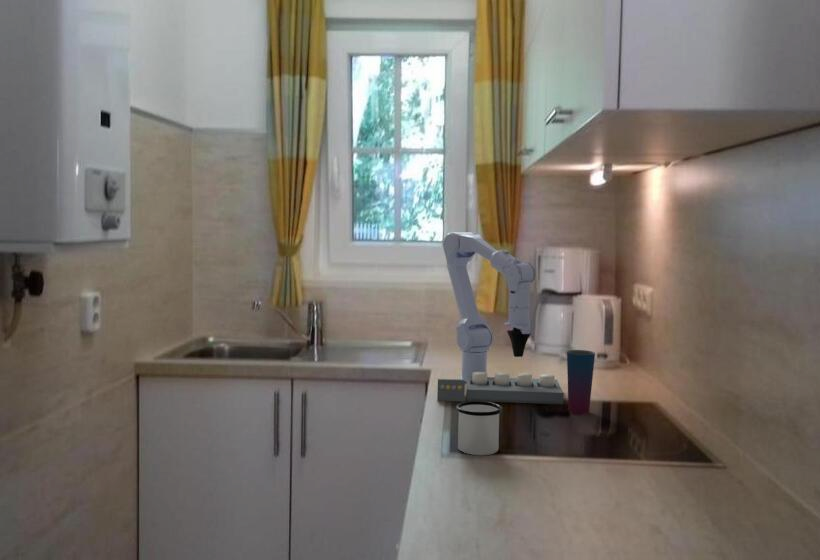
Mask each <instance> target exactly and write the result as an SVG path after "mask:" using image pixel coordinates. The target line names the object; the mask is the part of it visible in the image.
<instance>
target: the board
mask: <svg viewBox="0 0 820 560" xmlns="http://www.w3.org/2000/svg"><path fill="white" fill-rule="evenodd" d="M494 384H495V376H493V377H491V376H487V385H472V377H468V376H467V382H466V390H465V393H466V394H465V395H466V397H465V398H466V400H465V402H469V401H483V402H490V403H517V404H545V405H564V391H563V389H562V387H561V385H560V383H559V382H558V379H554V387H539V378H532V387H528V386H517V377H510V379H509V386H500V385H494Z"/></svg>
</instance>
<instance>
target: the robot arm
mask: <svg viewBox="0 0 820 560" xmlns="http://www.w3.org/2000/svg"><path fill="white" fill-rule="evenodd" d="M442 248H443V251H444V255H445V256H444V257H445V259H446V267H447V270H448V274H449V279H450V282H451V285H452V289H453V290H452V291H453V295H454V297H455V301H456V304H457V309H458V312H459V316H460V321H459V323H458V324H457V325H456V326H455V330H456V342H457V343H456V344H457V345H458V347H459V348H460V350H459V351H462V353H461V354H462V355H461V356H462V357H461V374H460V375H459V377H460V379H465V383H467V376H468V377H472V376H473V372H485V373H487V368H488V367H487V365H488V364H487V362H488V351H489V350H490V348H491V346H492V345H493V343H494V342H493V341H494V335H493V332H492V330H491V328H490V327H489V325H488V321H487V320H486V319H485V318H483V317H482V316H480V314H479V309H478V306H477V301H476V298H475V295H474V291H473V287H472V283H471V280H470V277H469V273H468V269H467V265H468V263H469V262H470V261H472V259H473V258H474V256H475V255H476V254H478V255H480V256H481V257H483V258H484V259H486V260H488V261H490V262H489V263H490V266H491V268H493V269H494V270H496V271H497V272H499V273H500V274H501V275H503V276H504V278H505V281H506V282H507V289H508V322H504V324H503V325H504V326H505V327H509V328H512V330H511V329H508V330H507V331H506V332H507V334H508V337H509V340H510V342H511V347H512V354H513V357H515V358H517V357H518V358H520V357H521V358H523V356H524V352H525V349H526V344H527V342H528V339H529V338H530V336H531V322H530V321H531V318H530V317H531V285H532V283H533V281H534V280H535V278H536V270H535V268H534V265H533V264H531V263H530V262H528V261H527V262H522V261H521V259H520V258H519V257H518V258H517V257H514V256H513V255H511V254H510V251H509V250H507V249H499V250H497V249H496V248H494V247H493V246H492V245H491V244H490V243H488V242H487V241H485V240H484V239H483V238H482V236H481V234H478V232H475V231H471V232H470V231H469V232H462V231H461V232H459V231H458V232H457V231H456V232H454V231H450V232H447V234H445V237H444V240H443V242H442Z"/></svg>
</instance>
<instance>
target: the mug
mask: <svg viewBox="0 0 820 560" xmlns="http://www.w3.org/2000/svg"><path fill="white" fill-rule="evenodd" d="M455 409H456V411H457V412H458V427H457V428H458V430H457V449H458V450H459V452H461V451H462V453H463V452H464V454H466V453H467V454H466V455H470V454H471V456H479V457H480V456H482V457H483V456H490V455H493V454H495V453H497V452H498V451H499V443H500V441H499V436H500V433H499V432H500V414H501V413H502V412H503V407H502V406H501V405H499V404H497V403H496V402H488V401H461V402H459V403H458V404H456V405H455Z"/></svg>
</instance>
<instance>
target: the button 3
mask: <svg viewBox="0 0 820 560" xmlns="http://www.w3.org/2000/svg"><path fill="white" fill-rule="evenodd" d="M516 374H517V375H516V378H517V386H528V387H532V379H533V374H530V373H527V372H526V373H524V372H523V373H522V372H521V373H516Z"/></svg>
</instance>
